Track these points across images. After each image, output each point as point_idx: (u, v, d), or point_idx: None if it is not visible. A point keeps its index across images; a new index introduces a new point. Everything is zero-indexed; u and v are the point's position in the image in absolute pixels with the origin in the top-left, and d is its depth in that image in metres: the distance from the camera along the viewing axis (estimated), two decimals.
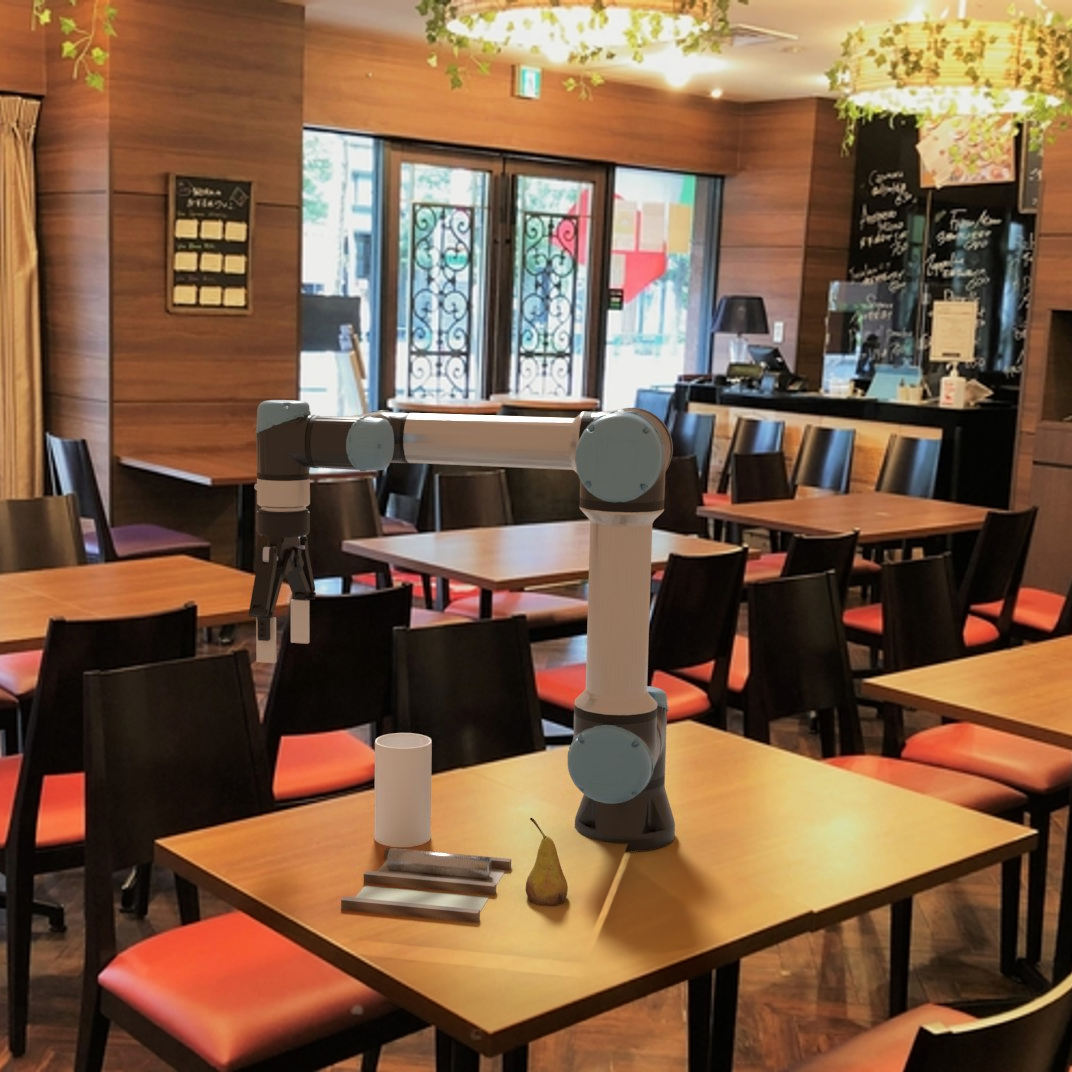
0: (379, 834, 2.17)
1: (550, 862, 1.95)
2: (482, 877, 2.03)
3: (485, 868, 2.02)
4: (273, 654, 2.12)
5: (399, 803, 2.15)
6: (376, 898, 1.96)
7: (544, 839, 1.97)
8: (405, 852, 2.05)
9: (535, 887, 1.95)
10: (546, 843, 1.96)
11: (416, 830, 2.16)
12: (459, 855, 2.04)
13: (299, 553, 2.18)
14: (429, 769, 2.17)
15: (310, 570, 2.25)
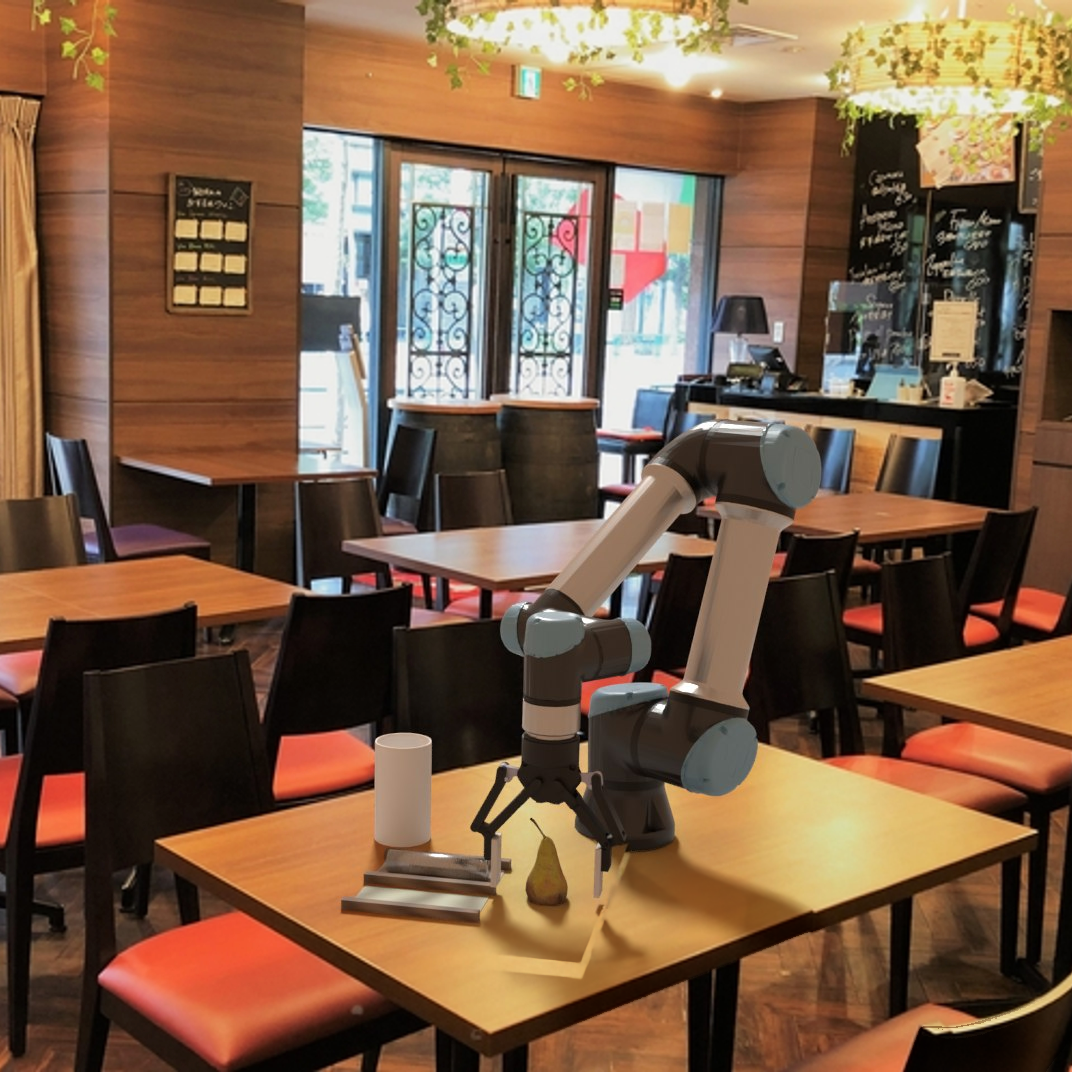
0: (379, 834, 2.17)
1: (550, 862, 1.95)
2: None
3: (484, 874, 2.02)
4: None
5: (399, 803, 2.15)
6: (376, 898, 1.96)
7: (544, 839, 1.97)
8: (403, 857, 2.04)
9: (535, 887, 1.95)
10: (546, 843, 1.96)
11: (416, 830, 2.16)
12: (457, 859, 2.03)
13: (557, 787, 1.93)
14: (429, 769, 2.17)
15: (609, 817, 1.93)
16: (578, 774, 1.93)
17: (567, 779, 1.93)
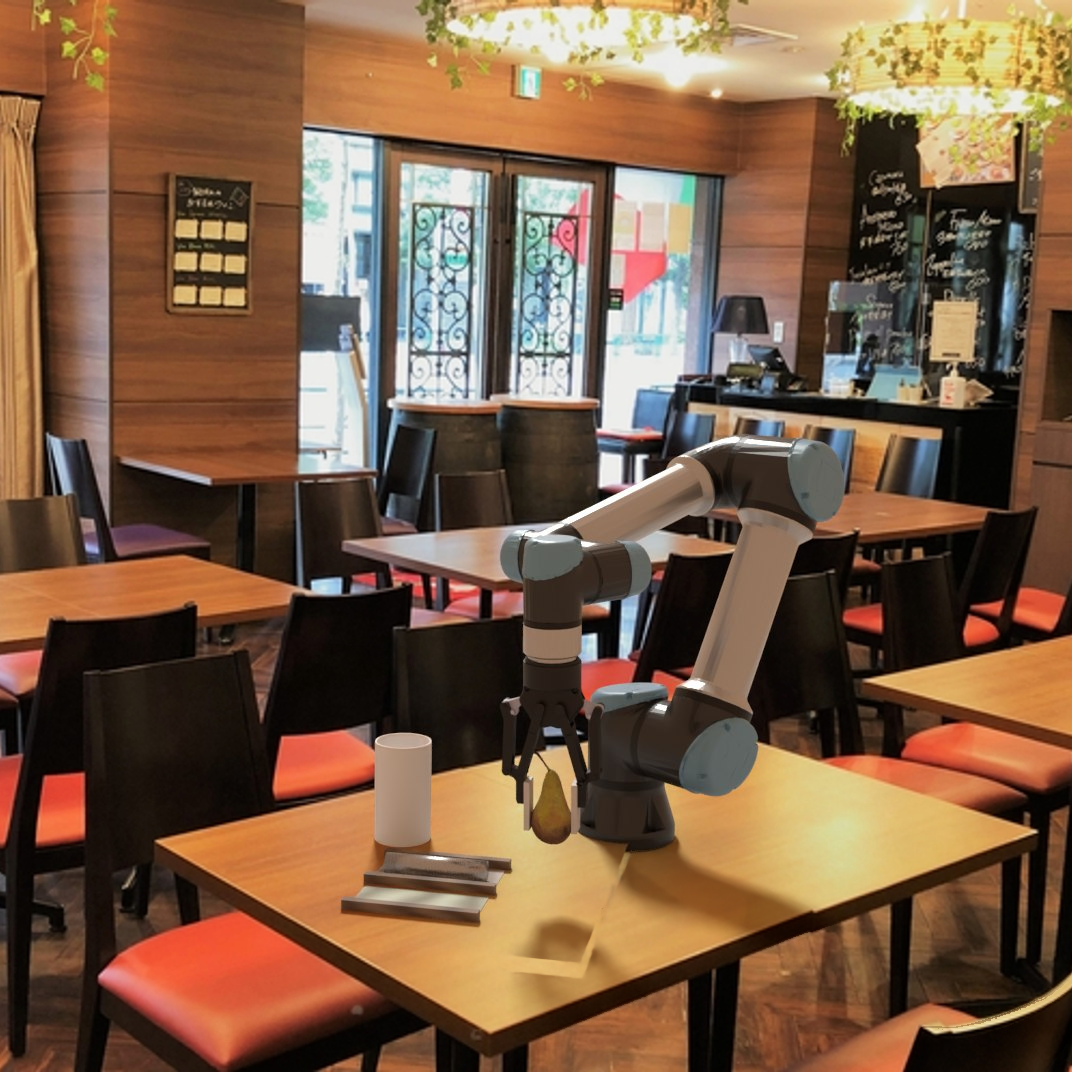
0: (379, 834, 2.17)
1: (555, 795, 1.94)
2: None
3: None
4: None
5: (399, 803, 2.15)
6: (376, 898, 1.96)
7: (549, 772, 1.95)
8: (400, 867, 2.03)
9: (540, 820, 1.94)
10: (551, 776, 1.95)
11: (416, 830, 2.16)
12: (454, 868, 2.02)
13: (558, 711, 1.92)
14: (429, 769, 2.17)
15: (594, 751, 1.93)
16: (582, 700, 1.92)
17: (570, 701, 1.92)
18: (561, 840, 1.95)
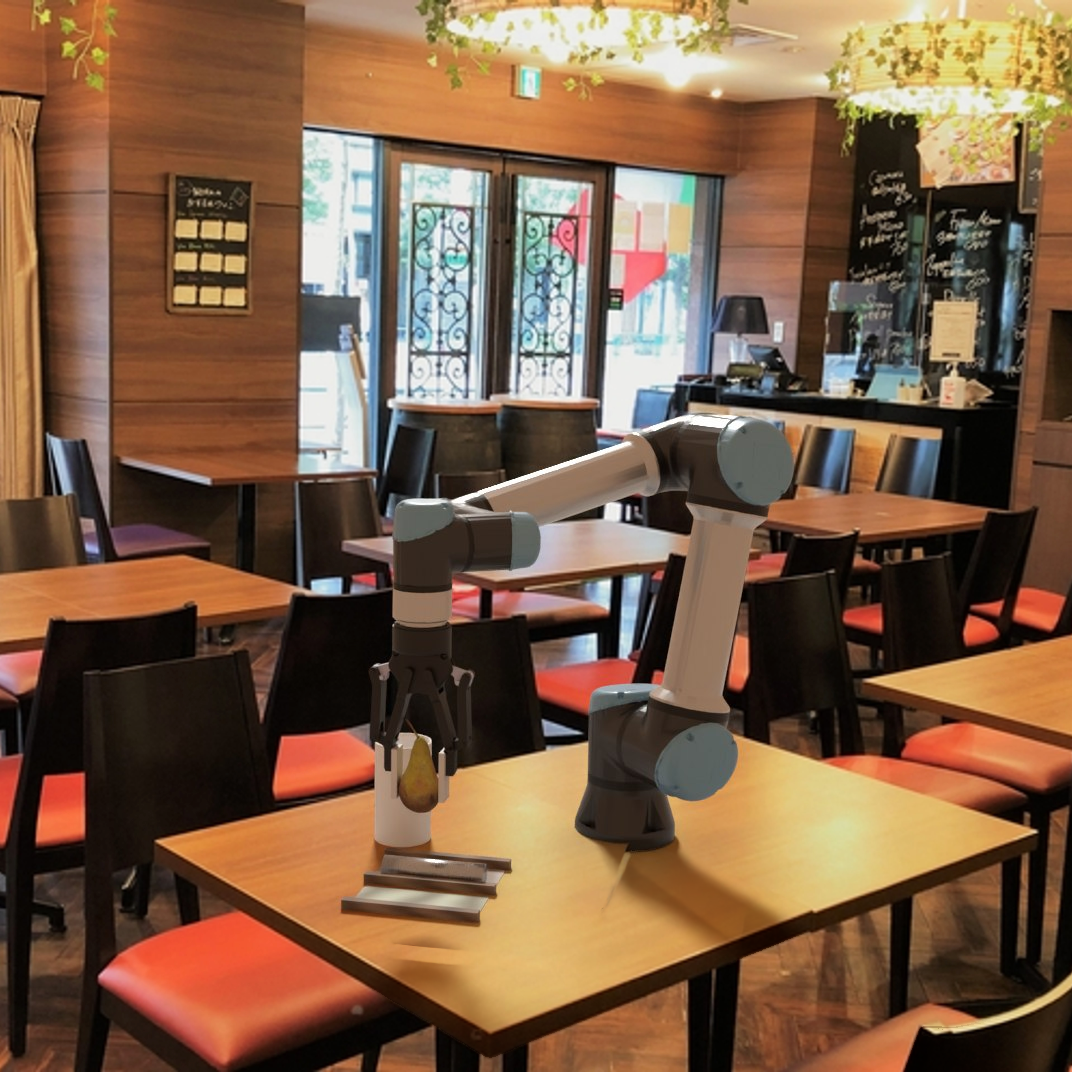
0: (379, 834, 2.17)
1: (422, 762, 1.91)
2: None
3: None
4: (391, 788, 1.93)
5: (399, 803, 2.15)
6: (376, 898, 1.96)
7: (417, 739, 1.93)
8: None
9: (406, 787, 1.91)
10: (419, 743, 1.92)
11: (416, 830, 2.16)
12: None
13: (426, 677, 1.89)
14: None
15: (462, 718, 1.90)
16: (451, 666, 1.90)
17: (439, 667, 1.90)
18: (428, 808, 1.92)
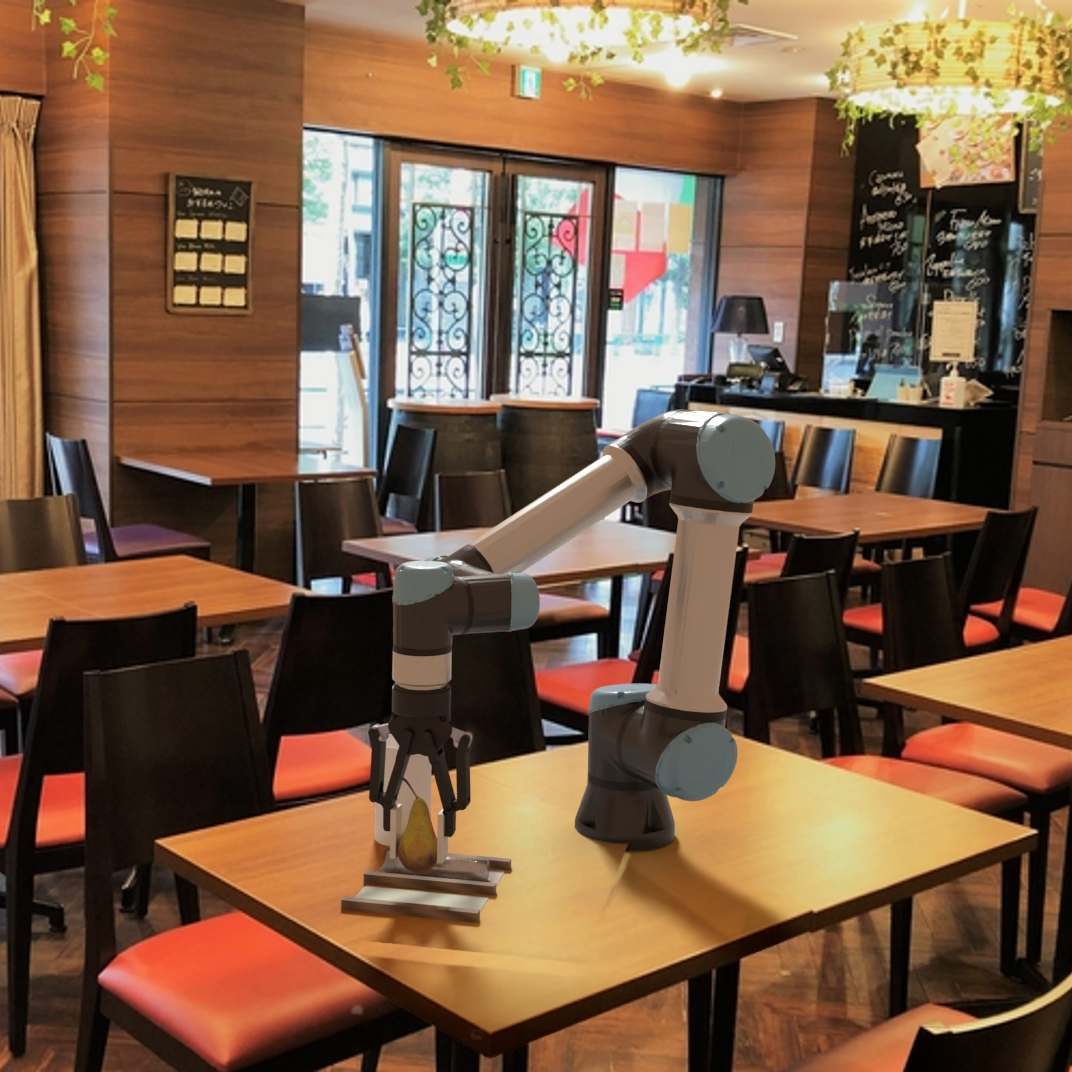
0: (379, 834, 2.17)
1: (421, 823, 1.93)
2: None
3: (483, 879, 2.02)
4: (390, 848, 1.94)
5: (399, 803, 2.15)
6: (376, 898, 1.96)
7: (416, 799, 1.94)
8: (401, 863, 2.03)
9: (405, 848, 1.92)
10: (418, 804, 1.93)
11: None
12: (455, 865, 2.02)
13: (426, 739, 1.90)
14: (429, 769, 2.17)
15: (461, 780, 1.91)
16: (450, 728, 1.91)
17: (438, 728, 1.91)
18: (427, 869, 1.93)
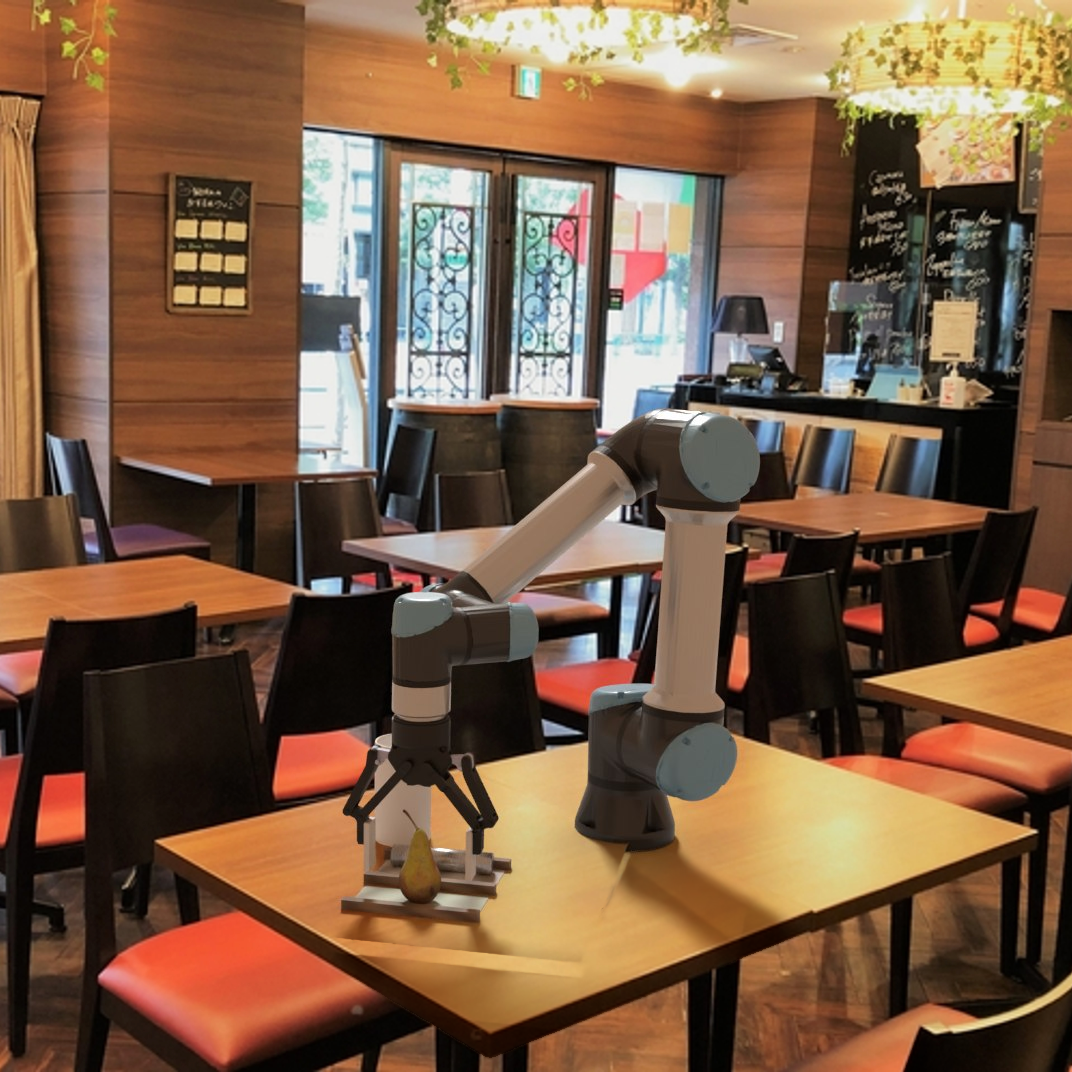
0: (379, 834, 2.17)
1: (422, 855, 1.93)
2: (485, 862, 2.04)
3: (490, 853, 2.05)
4: (364, 861, 1.95)
5: (399, 803, 2.15)
6: (376, 898, 1.96)
7: (417, 831, 1.94)
8: None
9: (406, 879, 1.93)
10: (418, 835, 1.94)
11: None
12: None
13: (427, 770, 1.91)
14: None
15: (479, 799, 1.91)
16: (448, 756, 1.91)
17: (437, 761, 1.91)
18: (428, 900, 1.93)
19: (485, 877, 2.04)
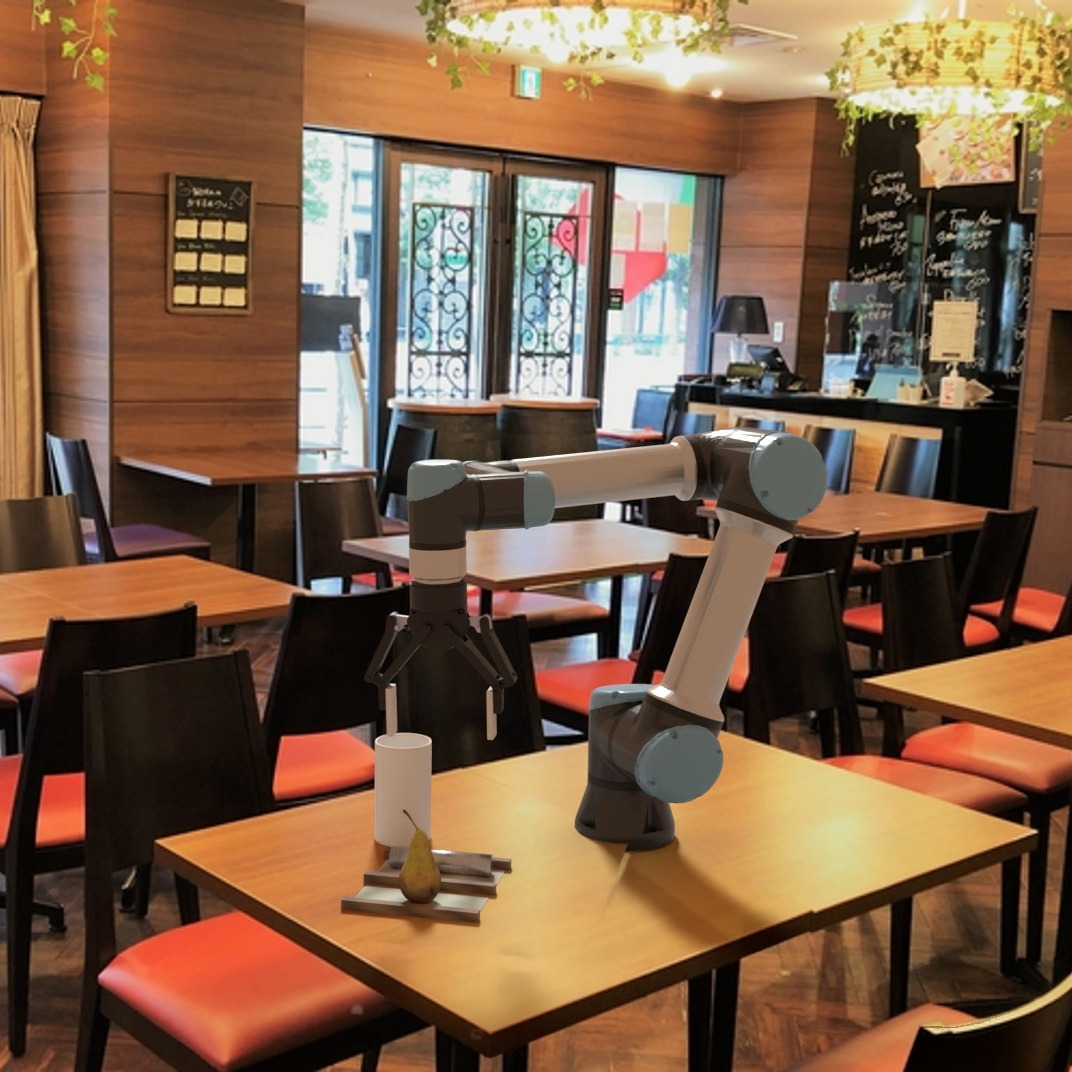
0: (379, 834, 2.17)
1: (422, 855, 1.93)
2: (483, 869, 2.03)
3: (488, 858, 2.04)
4: None
5: (399, 803, 2.15)
6: (376, 898, 1.96)
7: (417, 831, 1.94)
8: (409, 847, 2.07)
9: (406, 879, 1.93)
10: (418, 835, 1.94)
11: None
12: None
13: (446, 632, 1.95)
14: (429, 769, 2.17)
15: (498, 659, 1.96)
16: (467, 618, 1.96)
17: (456, 623, 1.96)
18: (428, 900, 1.93)
19: (485, 877, 2.04)
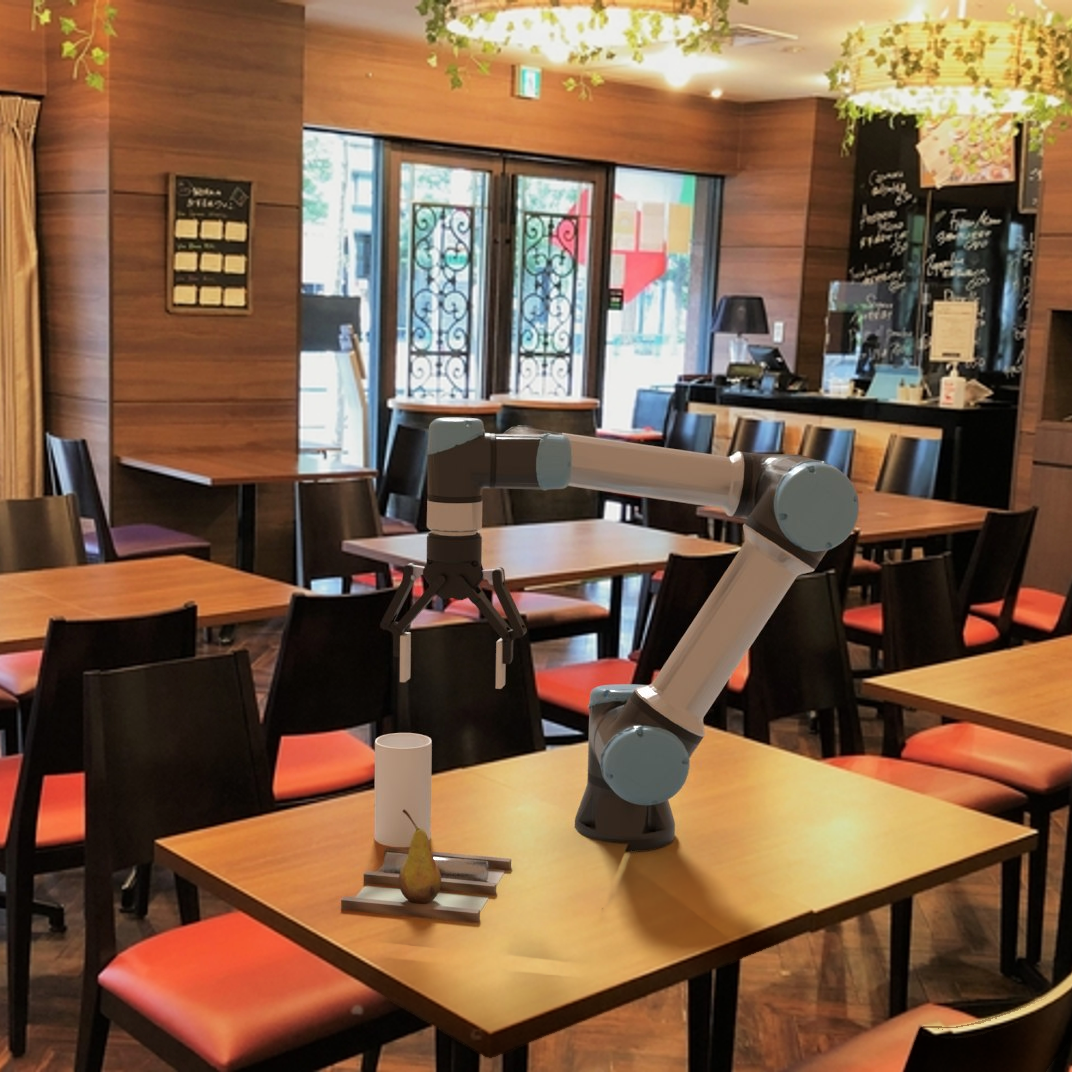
0: (379, 834, 2.17)
1: (422, 855, 1.93)
2: None
3: None
4: (400, 672, 2.08)
5: (399, 803, 2.15)
6: (376, 898, 1.96)
7: (417, 831, 1.94)
8: (399, 868, 2.03)
9: (406, 879, 1.93)
10: (418, 835, 1.94)
11: None
12: (453, 870, 2.02)
13: (460, 583, 2.03)
14: (429, 769, 2.17)
15: (509, 611, 2.03)
16: (480, 570, 2.04)
17: (469, 575, 2.04)
18: (428, 900, 1.93)
19: None
